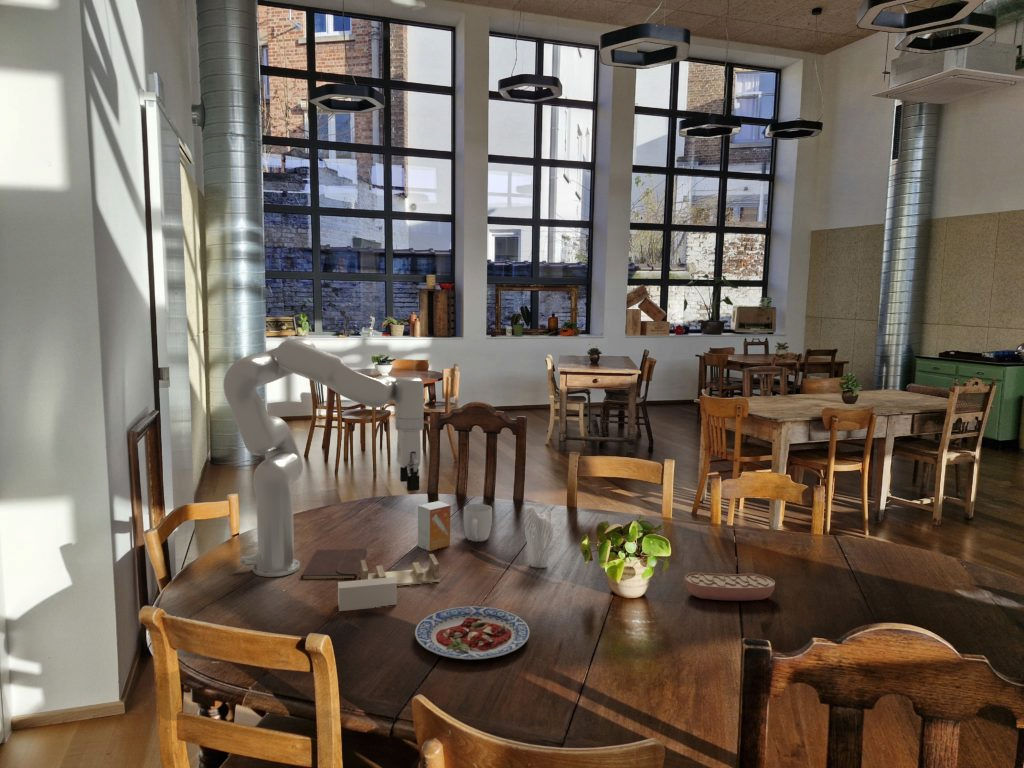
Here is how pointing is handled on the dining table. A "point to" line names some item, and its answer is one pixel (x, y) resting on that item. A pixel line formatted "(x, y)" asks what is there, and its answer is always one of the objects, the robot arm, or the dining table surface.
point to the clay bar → (367, 593)
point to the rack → (406, 573)
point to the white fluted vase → (538, 536)
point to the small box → (434, 525)
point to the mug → (477, 521)
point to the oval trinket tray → (729, 586)
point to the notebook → (335, 564)
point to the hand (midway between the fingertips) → (409, 485)
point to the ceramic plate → (472, 632)
